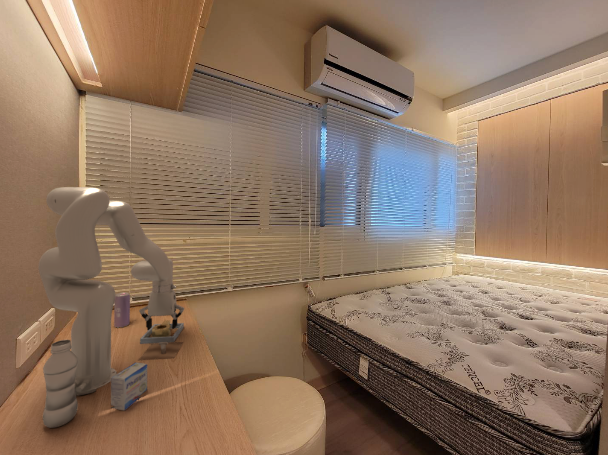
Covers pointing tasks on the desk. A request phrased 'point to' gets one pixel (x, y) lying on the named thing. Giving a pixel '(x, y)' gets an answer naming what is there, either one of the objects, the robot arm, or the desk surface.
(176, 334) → the tray
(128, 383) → the medicine box
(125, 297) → the beverage can
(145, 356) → the board
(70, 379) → the plastic bottle
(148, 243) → the robot arm
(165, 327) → the ring
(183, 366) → the desk surface
